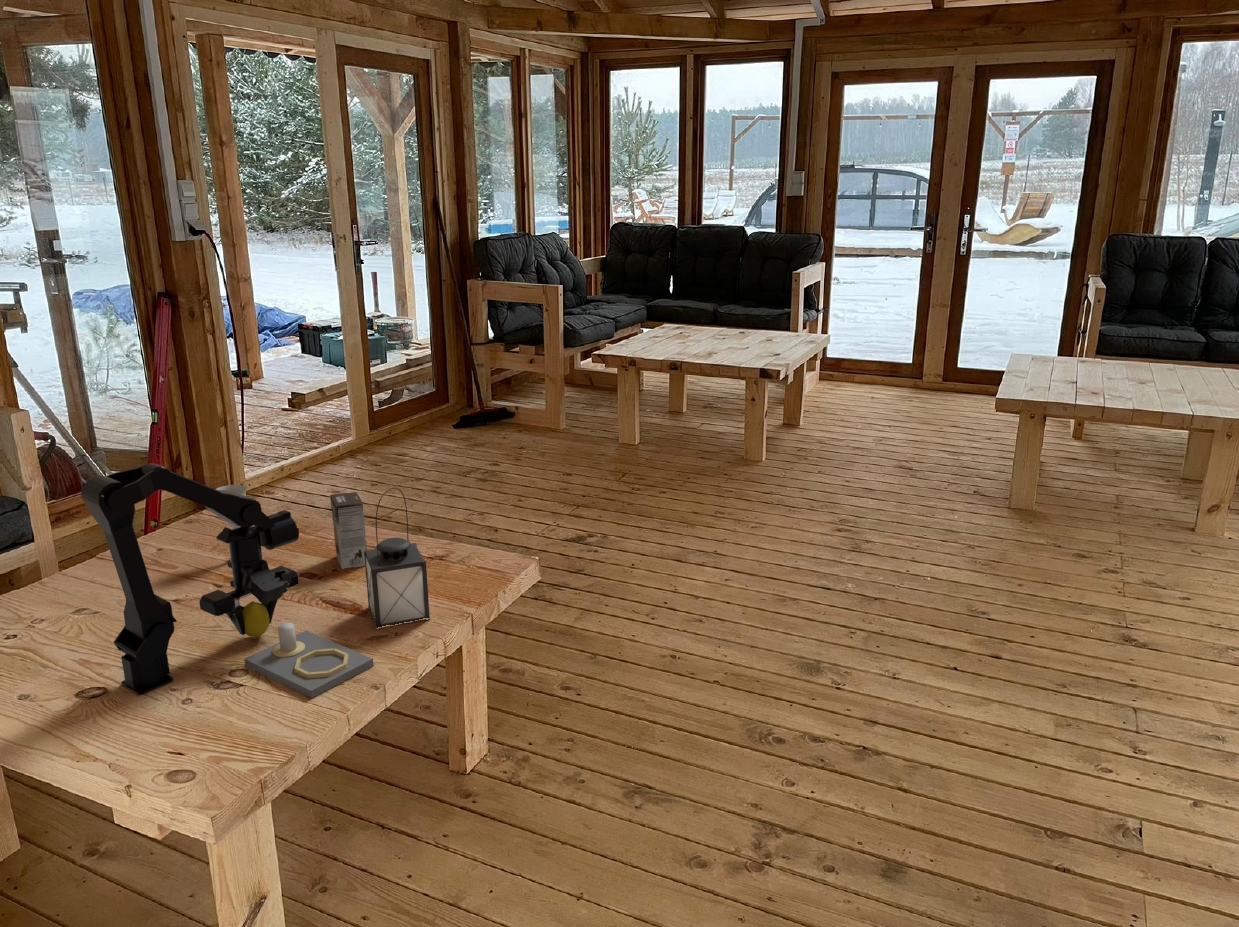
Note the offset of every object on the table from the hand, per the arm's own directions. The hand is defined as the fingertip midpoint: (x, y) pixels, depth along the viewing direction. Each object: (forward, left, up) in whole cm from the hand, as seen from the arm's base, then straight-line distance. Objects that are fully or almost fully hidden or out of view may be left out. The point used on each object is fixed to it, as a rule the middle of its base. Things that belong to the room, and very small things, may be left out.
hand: (255, 628), depth 184 cm
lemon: (0, 0, -2) cm, 2 cm away
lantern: (+24, -15, -2) cm, 28 cm away
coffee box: (+37, +16, -2) cm, 40 cm away
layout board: (-1, -18, -2) cm, 18 cm away
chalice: (+22, +39, -2) cm, 45 cm away
